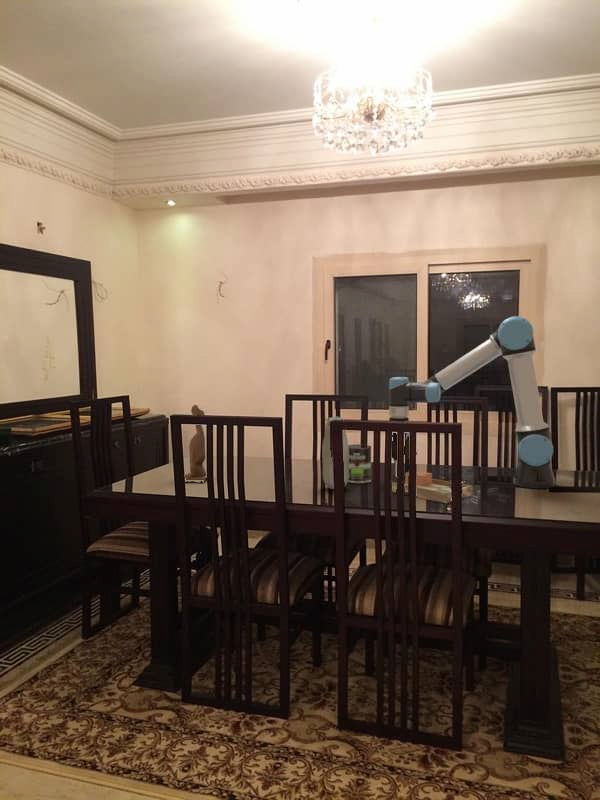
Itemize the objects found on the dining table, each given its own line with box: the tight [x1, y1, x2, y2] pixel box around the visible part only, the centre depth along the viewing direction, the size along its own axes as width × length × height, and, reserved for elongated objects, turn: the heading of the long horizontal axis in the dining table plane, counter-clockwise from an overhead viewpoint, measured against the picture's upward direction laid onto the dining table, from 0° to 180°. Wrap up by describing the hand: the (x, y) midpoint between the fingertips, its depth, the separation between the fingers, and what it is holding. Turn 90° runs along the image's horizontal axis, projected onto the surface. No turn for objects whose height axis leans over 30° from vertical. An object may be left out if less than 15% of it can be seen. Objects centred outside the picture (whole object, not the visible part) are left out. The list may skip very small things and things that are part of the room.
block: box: [404, 470, 433, 486], centre depth 239 cm, size 6×8×4 cm
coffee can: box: [348, 444, 372, 484], centre depth 255 cm, size 10×10×14 cm
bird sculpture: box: [184, 404, 207, 481], centre depth 261 cm, size 11×12×32 cm
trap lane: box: [391, 478, 474, 504], centre depth 232 cm, size 16×26×4 cm, turn 41°
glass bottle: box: [321, 416, 349, 490], centre depth 241 cm, size 10×10×28 cm
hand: (399, 476), depth 246 cm, fingers closed
